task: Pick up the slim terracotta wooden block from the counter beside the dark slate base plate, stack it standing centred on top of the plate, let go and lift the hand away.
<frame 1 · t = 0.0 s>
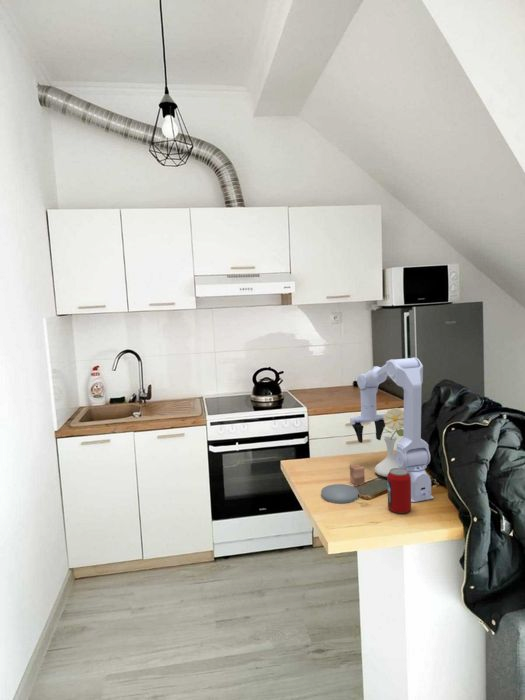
hand: (369, 440, 179), 10 cm above the worktop, tool pointing down, fingers open, 7 cm apart
flower in vase: (392, 475, 171), on the worktop
terracotta block: (357, 483, 165), on the worktop
slate base plate: (339, 495, 155), on the worktop
beverage can: (399, 510, 143), on the worktop
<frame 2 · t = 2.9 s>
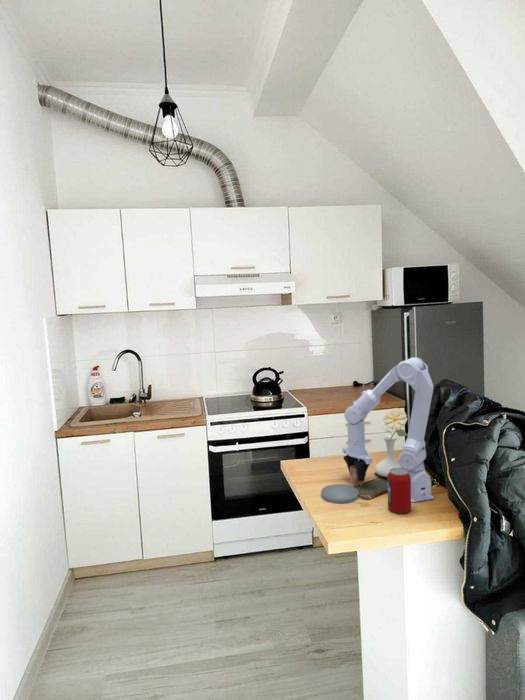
hand: (357, 478, 165), 2 cm above the worktop, tool pointing down, fingers closed on terracotta block, 4 cm apart
terracotta block: (357, 483, 165), on the worktop, touching gripper
everything else where it was.
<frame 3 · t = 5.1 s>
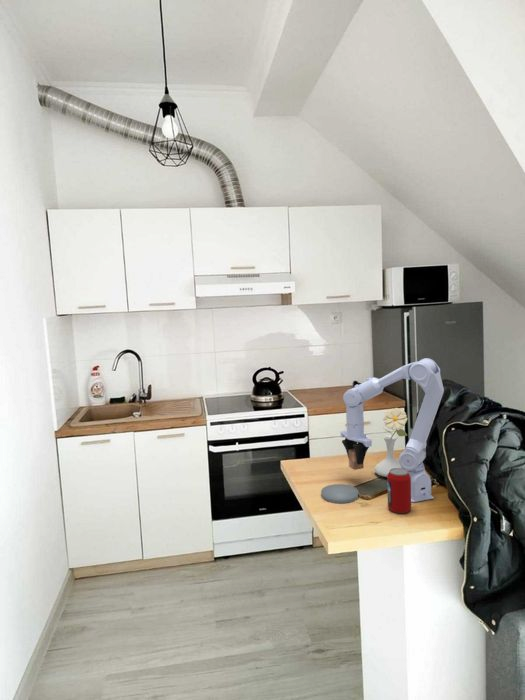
hand: (356, 461, 163), 8 cm above the worktop, tool pointing down, fingers closed on terracotta block, 4 cm apart
terracotta block: (356, 467, 164), point 6 cm above the worktop, touching gripper
everything else where it was.
when the fingers open (4 cm above the worktop, at t = 7.8 s): terracotta block stays where it is, resting on slate base plate.
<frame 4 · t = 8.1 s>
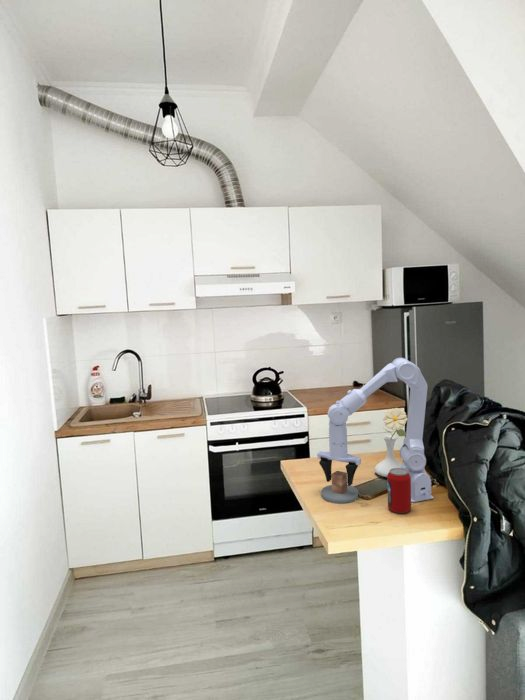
hand: (339, 482, 155), 4 cm above the worktop, tool pointing down, fingers open, 7 cm apart
terracotta block: (339, 491, 155), point 1 cm above the worktop, touching slate base plate
everything else where it was.
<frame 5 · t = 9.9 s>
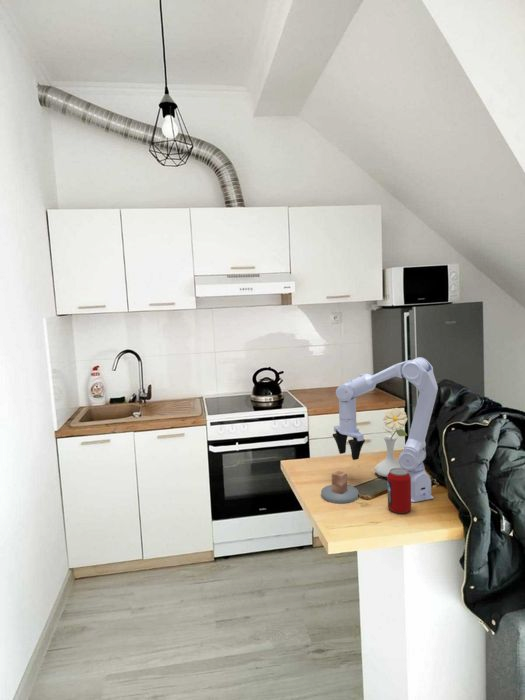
hand: (348, 456, 165), 9 cm above the worktop, tool pointing down, fingers open, 7 cm apart
nothing on the worktop moved.
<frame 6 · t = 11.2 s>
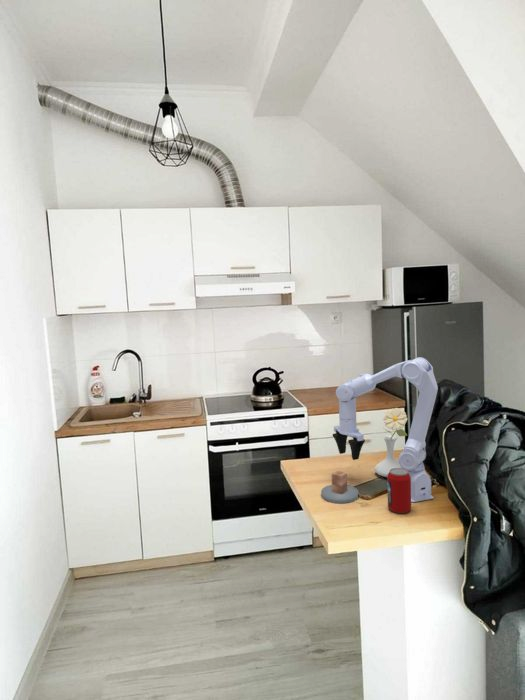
hand: (348, 456, 165), 9 cm above the worktop, tool pointing down, fingers open, 7 cm apart
nothing on the worktop moved.
at the end: terracotta block inside the target area on the slate base plate (0.1 cm from its centre), point 1.5 cm above the slate base plate's base; terracotta block tilted 0°; the gripper is holding nothing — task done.
